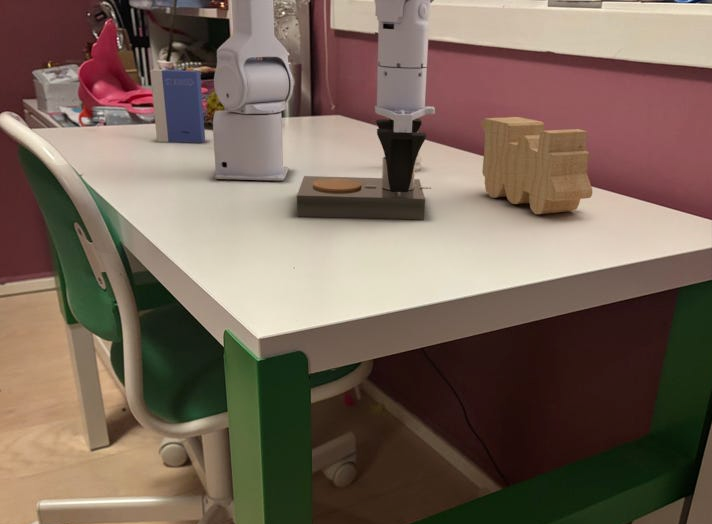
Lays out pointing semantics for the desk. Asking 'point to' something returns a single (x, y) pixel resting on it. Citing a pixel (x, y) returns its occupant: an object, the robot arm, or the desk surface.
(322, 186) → the burner
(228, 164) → the robot arm
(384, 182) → the hob knob
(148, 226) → the desk surface
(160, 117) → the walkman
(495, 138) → the toy train
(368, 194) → the hob
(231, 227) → the desk surface
